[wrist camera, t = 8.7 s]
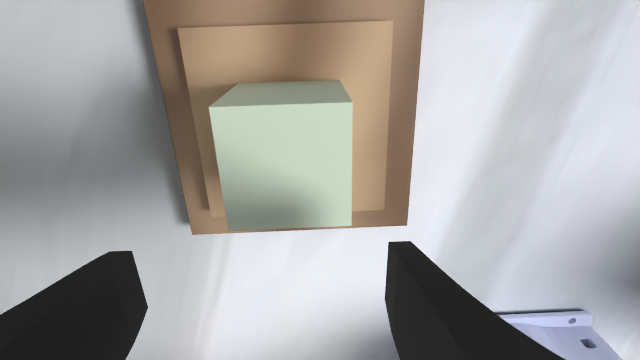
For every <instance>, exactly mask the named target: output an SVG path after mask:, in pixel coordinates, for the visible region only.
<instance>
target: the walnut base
mask: <svg viewBox="0 0 640 360" xmlns="http://www.w3.org/2000/svg"><path fill="white" fill-rule="evenodd" d="M424 2H425V0H143V3H144V8H145V13H146V17H147V22H148V27H149V32H150V36H151V41H152V46H153V51H154V55H155V60H156V65H157V70H158V74H159V79H160V84H161V89H162V93H163V98H164V103H165V108H166V112H167V117H168V122H169V127H170V131H171V136H172V141H173V146H174V150H175V155H176V160H177V165H178V169H179V174H180V179H181V184H182V188H183V193H184V198H185V203H186V207H187V212H188V217H189V222H190V226H191V231H192V235H197V234H220V233H243V232H266V231H289V230H312V229H335V228H358V227H381V226H404V225H407V219H408V206H409V194H410V181H411V168H412V155H413V143H414V130H415V117H416V104H417V91H418V79H419V66H420V53H421V40H422V28H423V15H424ZM324 80H340V81H341V83H342V85H343V86H344V88H345V90H346V92H347V93H348V95H349V97H350V98H351V100H352V102H353V120H352V226H336V227H311V228H286V229H261V230H236V231H228V227H227V221H226V214H225V208H224V202H223V195H222V189H221V183H220V176H219V170H218V163H217V157H216V151H215V144H214V138H213V132H212V125H211V119H210V112H209V107H210V106H211V105H212V104H213V103H215V102H216V101H217V100H218V99H219V98H221V97H222V96H223V95H224V94H226V93H227V92H228V91H229V90H231V89H232V88H233V87H234V86H236V85H237V84H238V83H265V82H294V81H324Z"/></svg>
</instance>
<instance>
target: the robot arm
mask: <svg viewBox="0 0 640 360" xmlns="http://www.w3.org/2000/svg"><path fill="white" fill-rule="evenodd" d="M385 302H386V307H387V312H388V318H389V322H390V327H391V332H392V335H393V339H394V342H395V345H396V348H397V351H398V354H399V357H400V360H622V359H621V358H620V357H619V356H618V355H617V354H616V352H615V351H614V350H613V349H612V348H611V347H610V346H609V345H608V344H607V343H606V342H605V341H604V340H603V339H602V338H601V337H600V335H599V334H598V333H597V332H596V331H595V330H594V329H593V328H592V327H591V325H592V322H593V319H594V317H593V315H592V314H591V313H590V312H588V311H573V312H552V313H531V314H509V315H497V314H495V313H494V312H493V311H491V310H490V309H489V308H487V307H486V306H485V305H483V304H482V303H481V302H480V301H478V300H477V299H476V298H474V297H473V296H472V295H471V294H469V293H468V292H467V291H466V290H464V289H463V288H462V287H461V286H460V285H458V284H457V283H456V282H455V281H454V280H453V279H451V278H450V277H449V276H448V275H447V274H446V273H445V272H443V271H442V270H441V269H440V268H439V267H438V266H437V265H436V264H435V263H433V262H432V261H431V260H430V259H429V258H428V257H427V256H426V255H425V254H424V253H423V252H422V251H420V250H419V249H418V248H417V247H416V246H415V245H414V244H413V243H412V242H410V241H403V242H389V245H388V260H387V275H386V290H385ZM147 309H148V306H147V303H146V299H145V296H144V292H143V289H142V285H141V281H140V278H139V274H138V271H137V267H136V264H135V260H134V257H133V253H132V251H113V252H108V253H106V254H104V255H102V256H100V257H98V258H96V259H95V260H93V261H91V262H89V263H88V264H86V265H84V266H82V267H81V268H79V269H77V270H76V271H74V272H72V273H71V274H69V275H67V276H66V277H64V278H62V279H61V280H59V281H57V282H56V283H54V284H52V285H51V286H49V287H47V288H46V289H44V290H42V291H41V292H39V293H37V294H36V295H34V296H32V297H31V298H29V299H27V300H26V301H24V302H22V303H20V304H19V305H17V306H15V307H13V308H11V309H10V310H8V311H6V312H4V313H3V314H1V315H0V360H125V359H126V357H127V356H128V354H129V352H130V350H131V348H132V346H133V344H134V342H135V340H136V337H137V335H138V333H139V330H140V328H141V325H142V322H143V320H144V317H145V314H146V312H147Z"/></svg>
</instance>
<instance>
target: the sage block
mask: <svg viewBox="0 0 640 360" xmlns="http://www.w3.org/2000/svg"><path fill="white" fill-rule="evenodd" d="M209 112H210V119H211V125H212V132H213V138H214V144H215V151H216V157H217V163H218V170H219V176H220V183H221V189H222V195H223V202H224V208H225V214H226V221H227V227H228V231H236V230H261V229H286V228H311V227H336V226H352V120H353V102H352V100H351V98H350V97H349V95H348V93H347V92H346V90H345V88H344V86H343V85H342V83H341V81H340V80H324V81H294V82H265V83H238V84H237V85H236V86H234V87H233V88H232V89H231V90H229V91H228V92H227V93H226V94H224V95H223V96H222V97H221V98H219V99H218V100H217V101H216V102H215V103H213V104H212V105H211V106H210V107H209Z"/></svg>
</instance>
